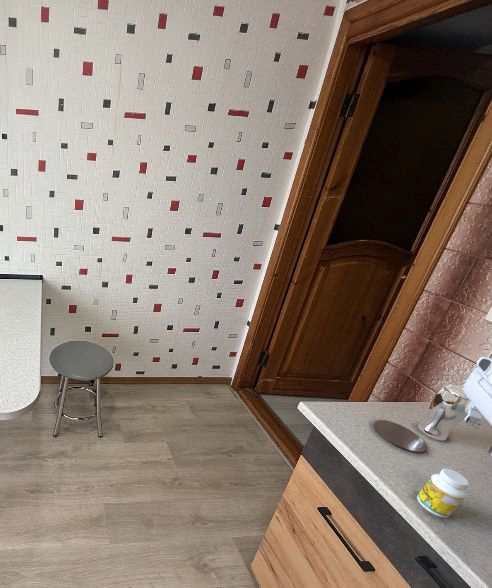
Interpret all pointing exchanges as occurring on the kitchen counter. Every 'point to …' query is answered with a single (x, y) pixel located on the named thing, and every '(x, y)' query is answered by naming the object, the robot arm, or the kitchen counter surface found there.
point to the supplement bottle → (443, 492)
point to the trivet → (400, 436)
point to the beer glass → (445, 412)
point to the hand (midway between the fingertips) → (482, 439)
